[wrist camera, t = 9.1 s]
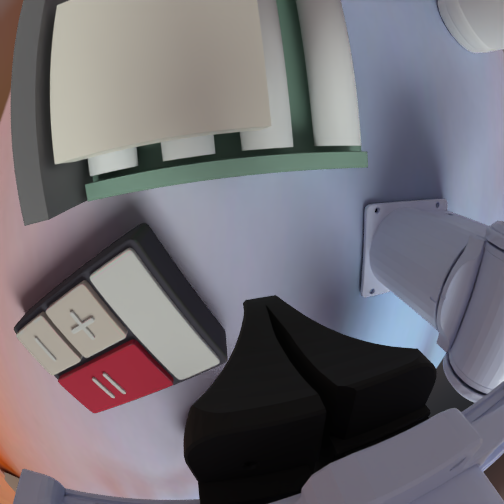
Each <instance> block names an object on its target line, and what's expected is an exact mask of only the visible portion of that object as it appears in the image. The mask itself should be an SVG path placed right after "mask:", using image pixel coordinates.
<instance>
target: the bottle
mask: <svg viewBox="0 0 504 504" xmlns="http://www.w3.org/2000/svg"><path fill="white" fill-rule="evenodd" d="M438 8H439V12H440V15H441V17H442V19H443V21H444V24H445V25H446V27H447V28H448V30H449V32H450V33H451V35H452V36H453V37H454V38H455V39H456V41H457V42H458V43H459V44H460V45H461V46H463V47H464V48H465V49H466V50H467V51H469V52H472V53H481V52H482V53H487V52H493V51H496V50H502V49H504V0H438Z"/></svg>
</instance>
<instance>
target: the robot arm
mask: <svg viewBox="0 0 504 504" xmlns="http://www.w3.org/2000/svg"><path fill="white" fill-rule="evenodd" d="M436 203H437V205H436ZM376 208H377V212H376V213H375V209H376ZM371 289H372V291H371V292H370V290H371ZM387 292H392V293H394V294H395V295H396V296H397V297H399V298H400V299H401V300H402V301H403V302H405V303H406V304H407V305H408V306H409V307H410V308H412V309H413V310H414V311H415V312H416V313H418V314H419V315H420V316H421V317H422V318H423V319H425V320H426V321H427V322H428V323H429V324H430V325H432V326H433V327H434V328H435V329H436V330H437V331H438V332H439V336H438V340H437V344H438V345H439V346H440V347H441V348H442V349H443V350H444V351H445V352H446V354H445V357H444V360H443V368H444V372H445V375H446V377H447V378H448V380H449V382H450V383H451V384H452V386H453V387H454V389H455V390H456V391H457V392H458V393H459V394H461V395H462V396H463V397H465V398H466V399H468V400H470V401H472V402H475V403H474V404H473V405H472V406H470V407H469V408H467V409H466V410H464V411H463V412H460V411H459V410H458V409H456V408H452V409H448V410H446V411H444V412H441V413H439V414H437V415H435V416H433V417H432V418H430V419H429V418H428V416H429V415H430V410H429V409H428V408H427V406H426V405H425V403H426V402H427V400H428V397H429V395H430V393H431V391H432V388H433V386H434V383H435V380H436V368H435V367H434V365H433V364H432V363H431V362H430V361H429V360H428V359H427V358H426V357H425V356H424V355H423V354H422V353H421V352H420V351H419V350H418V349H413V348H401V347H391V346H385V345H379V344H374V343H370V342H366V341H362V340H359V339H355V338H352V337H349V336H346V335H343V334H341V333H338V332H336V331H334V330H331V329H329V328H327V327H325V326H323V325H321V324H319V323H317V322H315V321H313V320H311V319H310V318H308V317H306V316H305V315H303V314H302V313H300V312H299V311H297V310H296V309H294V308H293V307H291V306H290V305H288V304H287V303H286V302H284V301H283V300H282V299H280V298H279V297H277V296H276V295H274V296H268V297H262V298H256V299H250V300H245V302H244V303H243V306H244V317H243V322H242V327H241V331H240V334H239V337H238V340H237V343H236V345H235V348H234V350H233V352H232V354H231V356H230V358H229V360H228V362H227V364H226V365H225V367H224V369H223V370H222V372H221V373H220V375H219V376H218V377H217V379H216V380H215V381H214V383H213V384H212V385H211V386H210V388H209V389H208V390H207V391H206V392H205V393H204V394H203V395H202V396H201V397H200V398H199V399H198V400H197V401H196V402H195V403H194V404H193V405H192V406H191V408H190V411H189V415H188V418H187V422H186V427H185V433H184V458H185V461H186V464H187V465H188V467H189V468H190V470H191V472H192V473H193V475H194V476H195V478H196V479H197V481H198V486H199V497H200V499H195V500H148V499H132V498H121V497H112V496H105V495H98V494H92V493H86V492H80V491H75V490H71V489H66V488H64V486H63V485H62V484H61V483H59V482H58V481H57V480H55V479H54V478H52V477H50V476H47V475H45V474H41V473H37V472H34V471H30V470H27V469H22V473H21V476H20V479H19V483H18V487H17V490H16V494H15V498H14V502H13V504H504V501H503V499H502V498H501V497H500V495H499V494H498V492H497V491H496V489H495V488H494V487H493V485H492V484H491V483H490V481H489V480H488V478H487V477H486V476H485V474H484V473H483V471H485V470H486V469H487V468H488V467H489V466H490V465H491V464H492V463H493V462H495V461H496V460H497V459H498V458H499V457H500V456H501V455H502V454H503V453H504V222H503V221H496V222H495V223H493V224H492V225H491V226H487V225H485V224H482V223H480V222H477V221H475V220H472V219H469V218H467V217H464V216H461V215H458V214H456V213H453V212H450V211H447V200H446V199H427V200H413V201H400V202H387V203H375V204H368V205H367V206H366V207H365V211H364V248H363V267H362V281H361V295H362V296H363V297H365V298H367V297H371V296H375V295H379V294H383V293H387Z"/></svg>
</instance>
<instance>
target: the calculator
mask: <svg viewBox="0 0 504 504" xmlns="http://www.w3.org/2000/svg"><path fill="white" fill-rule="evenodd" d="M14 331H15V333H16V336H17V338H18V339H19V341H20V342H21V343H22V344H23V345H24V347H25V348H26V349H27V350H28V351H29V352H30V353H31V355H32V356H33V357H34V358H35V359H36V360H37V361H38V362H39V363H40V364H41V365H42V366H43V367H44V368H45V370H46V371H47V372H48V373H50V374H51V375H54V376H55V377H56V378H57V379H58V382H59V383H60V384H61V385H62V386H63V387H64V388H65V389H66V390H67V391H68V392H69V393H70V394H71V395H73V396H74V397H75V398H76V399H77V400H78V401H79V402H80V403H82V404H83V405H84V406H85V407H86V408H88V409H89V410H90V411H91V412H93V413H98V412H101V411H104V410H107V409H110V408H113V407H116V406H119V405H122V404H125V403H128V402H130V401H133V400H136V399H139V398H141V397H144V396H147V395H149V394H152V393H155V392H157V391H160V390H162V389H165V388H167V387H170V386H172V385H175V384H177V383H180V382H182V381H184V380H187V379H189V378H192V377H194V376H196V375H199V374H201V373H203V372H205V371H208V370H210V369H212V368H214V367H217V366H219V365H221V364H223V363H225V362H226V361H227V346H226V334H225V330H224V329H223V328H222V326H221V325H220V324H219V323H218V321H217V320H216V319H215V317H214V316H213V315H212V313H211V312H210V311H209V310H208V308H207V307H206V306H205V304H204V303H203V302H202V300H201V299H200V298H199V296H198V295H197V294H196V292H195V291H194V289H193V288H192V287H191V285H190V284H189V283H188V281H187V280H186V279H185V277H184V276H183V274H182V273H181V272H180V270H179V269H178V267H177V266H176V265H175V263H174V262H173V260H172V259H171V257H170V256H169V255H168V253H167V252H166V250H165V249H164V247H163V246H162V244H161V243H160V242H159V240H158V239H157V237H156V236H155V234H154V233H153V231H152V230H151V228H150V227H149V226H148V225H147V224H144V223H143V224H140V225H138V226H137V227H135V228H134V229H133V230H131V231H130V232H128V233H127V234H125V235H124V236H123V237H121V238H120V239H118V240H117V241H116V242H114V243H113V244H111V245H110V246H109V247H107V248H106V249H104V250H103V251H102V252H101V253H99V254H98V255H97V256H96V257H94V258H93V259H92V260H90V261H89V262H88V263H86V264H85V265H84V266H82V267H81V268H80V269H79V270H77V271H76V272H75V273H73V274H72V275H71V276H70V277H68V278H67V279H66V280H64V281H63V282H62V283H61V284H59V285H58V286H57V287H56V288H54V289H53V290H52V291H51V292H50V293H48V294H47V295H46V296H45V297H44V298H42V299H41V300H40V301H39V302H38V303H37V304H35V305H34V306H33V307H32V308H31V309H30V310H29V311H28V312H27V313H26V314H25V315H24V316H23V317H22V318H21V320H20V321H19V322H18V323H17V324H16V326H15V327H14Z"/></svg>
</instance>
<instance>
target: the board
mask: <svg viewBox="0 0 504 504" xmlns="http://www.w3.org/2000/svg"><path fill="white" fill-rule="evenodd" d="M50 113H51V131H52V143H53V153H54V162H55V164H61V163H69V162H76V161H79V160H83V159H87V158H91V157H94V156H98V155H102V154H107V153H111V152H115V151H120V150H124V149H129V148H133V147H138V146H143V145H149V144H154V143H160V142H165V141H171V140H178V139H184V138H191V137H198V136H206V135H214V134H223V133H233V132H244V131H257V130H263V129H265V128H268V127H271V116H270V106H269V96H268V87H267V77H266V68H265V59H264V51H263V42H262V34H261V26H260V18H259V11H258V3H257V0H69V1H66V2H64V3H62V4H59V5H57V9H56V15H55V22H54V30H53V39H52V50H51V67H50Z"/></svg>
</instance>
